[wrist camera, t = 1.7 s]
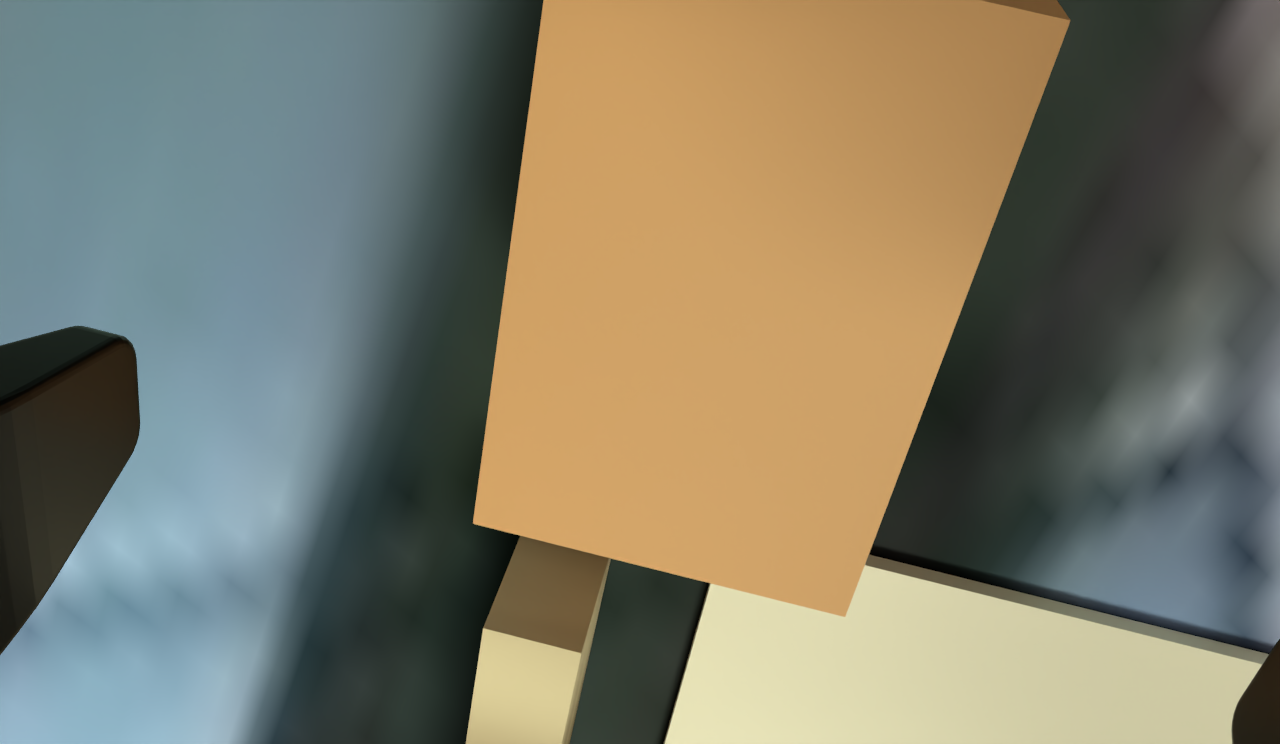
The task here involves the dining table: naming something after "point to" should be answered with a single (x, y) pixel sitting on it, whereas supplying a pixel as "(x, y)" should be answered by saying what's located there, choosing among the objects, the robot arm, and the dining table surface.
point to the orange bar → (745, 272)
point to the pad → (948, 670)
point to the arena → (536, 645)
